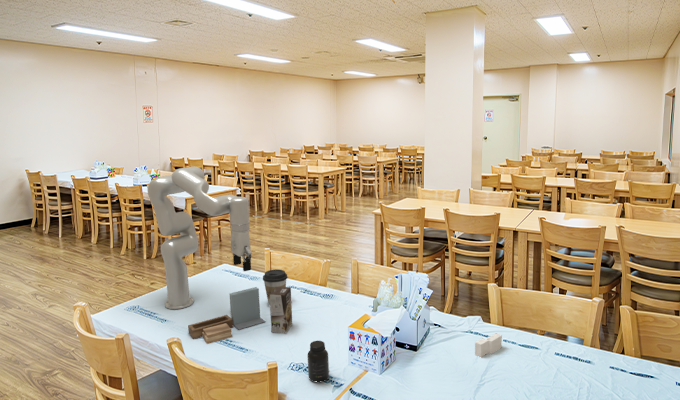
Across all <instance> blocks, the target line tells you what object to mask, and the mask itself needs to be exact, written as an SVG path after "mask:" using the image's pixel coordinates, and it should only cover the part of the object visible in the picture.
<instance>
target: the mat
mask: <svg viewBox="0 0 680 400" xmlns="http://www.w3.org/2000/svg"><path fill="white" fill-rule="evenodd" d="M266 322H267V321H266V320H264V318H262V317H261V316H260V318H257V319H253V320H250V321H246V322H243V323H239V324H236V325H233V328H234V327H235V329H236V330H237V331H241V330H245V329H249V328H252V327H255V326H258V325H262V324H265V323H266Z"/></svg>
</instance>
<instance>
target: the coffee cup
mask: <svg viewBox="0 0 680 400" xmlns="http://www.w3.org/2000/svg"><path fill="white" fill-rule="evenodd" d="M262 280H263V282H264V283H263V284H264V288H265V292H266V298H267V303H268V305H269V306H270V294H271V292H272V291H273V290H274V289H275V288H276V287H287V280H288V274H287V273H286V271H285V270H282V269H278V268H277V269H270V270H267V271H265V272H264V274H263V276H262Z"/></svg>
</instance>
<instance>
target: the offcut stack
mask: <svg viewBox="0 0 680 400" xmlns="http://www.w3.org/2000/svg"><path fill="white" fill-rule="evenodd" d="M201 338H202V339H203V340H204V341H205V343H206V344H207V345H208V344H212V343H215V342H219V341H223V340H226V339H230V338H233V334H232V328H230V327H229V326H228V325H227V324H226V323H224V324H220V325H217V326H213V327H209V328H205V329H203V332H202V337H201Z"/></svg>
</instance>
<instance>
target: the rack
mask: <svg viewBox="0 0 680 400" xmlns="http://www.w3.org/2000/svg"><path fill="white" fill-rule="evenodd" d="M224 323H226V324H227V325H228V326H229V327H230V328H231V329H233V328H234V326H233V320H232V319H231V316H229V315H228V314H224V315H221V316H217V317H214V318H210V319H207V320H204V321H200V322H196V323H191V324H189V325H187V332H188V335H189V336H190V337H191V338H192V339H193V340H196V339H199V338H203V337H202V332H203V329H205V328H209V327H213V326H217V325H220V324H224Z"/></svg>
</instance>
